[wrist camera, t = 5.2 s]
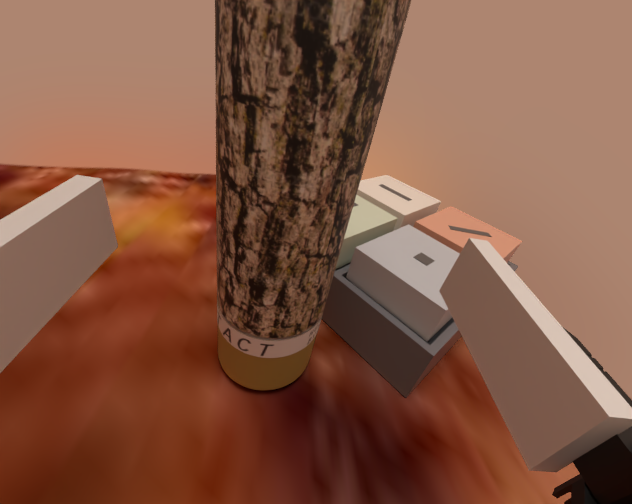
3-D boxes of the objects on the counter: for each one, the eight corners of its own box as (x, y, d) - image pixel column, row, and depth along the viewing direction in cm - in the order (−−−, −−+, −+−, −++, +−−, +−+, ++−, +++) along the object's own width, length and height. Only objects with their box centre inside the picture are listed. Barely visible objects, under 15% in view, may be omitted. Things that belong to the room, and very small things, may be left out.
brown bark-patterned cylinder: (275, 306, 27) (338, -116, 12) (327, 362, 23) (500, -146, 9) (200, 341, 22) (168, -238, 8) (250, 417, 19) (343, -393, 5)
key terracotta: (404, 247, 30) (415, 221, 28) (439, 229, 34) (451, 205, 33) (476, 293, 26) (495, 265, 24) (505, 265, 30) (522, 240, 29)
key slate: (345, 277, 24) (355, 246, 22) (397, 251, 29) (408, 223, 27) (427, 341, 20) (446, 310, 18) (471, 298, 25) (490, 270, 23)
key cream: (340, 208, 34) (347, 182, 32) (379, 197, 39) (387, 174, 37) (394, 241, 30) (405, 214, 28) (430, 224, 35) (441, 200, 33)
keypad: (262, 262, 31) (266, 221, 28) (368, 223, 43) (378, 191, 40) (405, 398, 22) (433, 356, 19) (492, 301, 33) (518, 266, 30)
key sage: (279, 225, 29) (283, 196, 27) (333, 210, 33) (339, 184, 32) (335, 269, 25) (343, 238, 23) (387, 244, 29) (397, 217, 28)
